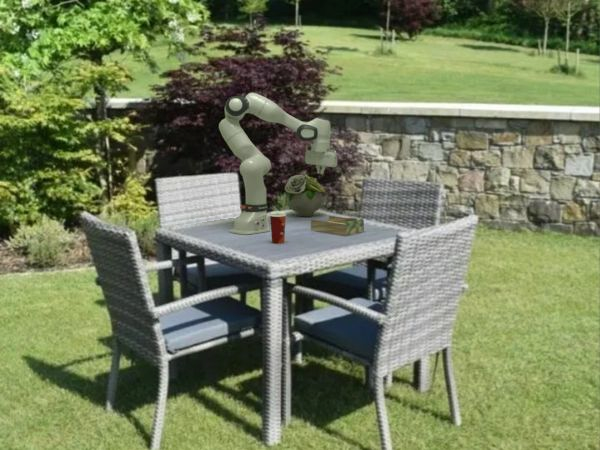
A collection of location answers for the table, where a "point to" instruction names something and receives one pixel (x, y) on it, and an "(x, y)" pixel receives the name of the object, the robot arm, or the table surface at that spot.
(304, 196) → the flower arrangement
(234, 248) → the table surface
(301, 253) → the table surface
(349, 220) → the walnut block
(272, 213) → the coffee cup
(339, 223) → the trap track
